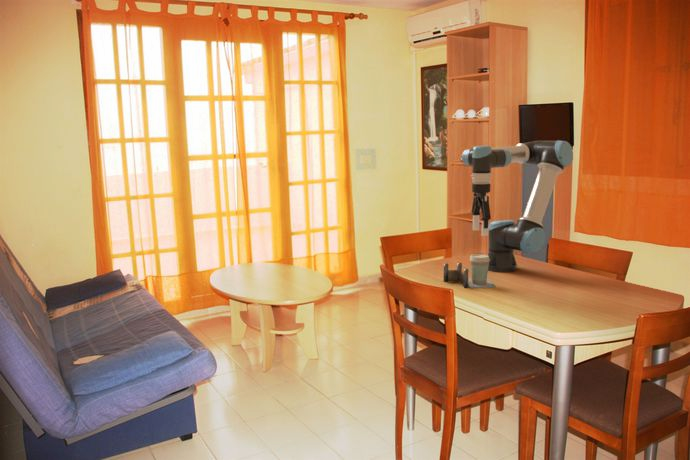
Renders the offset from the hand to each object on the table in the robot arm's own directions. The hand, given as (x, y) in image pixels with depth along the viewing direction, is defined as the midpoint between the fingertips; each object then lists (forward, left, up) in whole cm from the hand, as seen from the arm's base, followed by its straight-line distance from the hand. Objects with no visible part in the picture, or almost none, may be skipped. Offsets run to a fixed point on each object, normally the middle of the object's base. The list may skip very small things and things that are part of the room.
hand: (480, 232), depth 253 cm
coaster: (0, 0, -23) cm, 23 cm away
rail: (+10, -1, -23) cm, 25 cm away
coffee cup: (0, 0, -22) cm, 22 cm away
